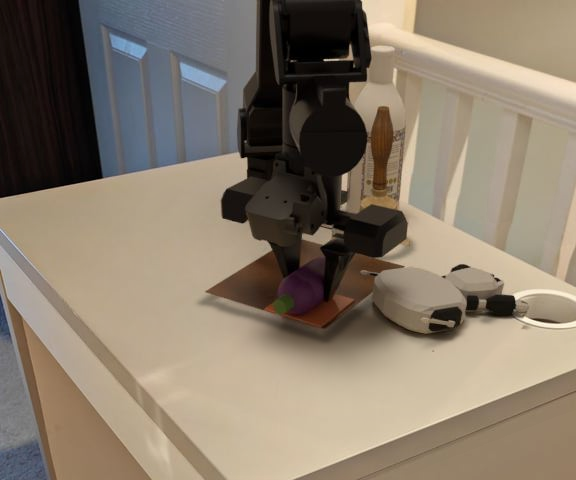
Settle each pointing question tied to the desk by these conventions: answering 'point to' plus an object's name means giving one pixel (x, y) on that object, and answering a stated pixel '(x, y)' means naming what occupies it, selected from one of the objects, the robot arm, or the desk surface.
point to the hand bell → (381, 161)
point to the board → (267, 275)
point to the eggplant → (302, 289)
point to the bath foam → (372, 97)
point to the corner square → (320, 311)
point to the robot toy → (439, 297)
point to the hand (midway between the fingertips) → (310, 295)
